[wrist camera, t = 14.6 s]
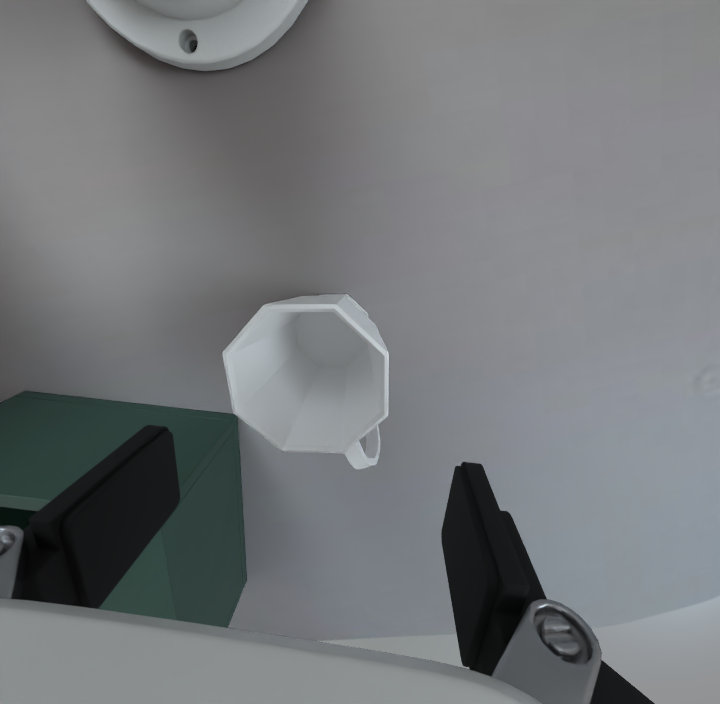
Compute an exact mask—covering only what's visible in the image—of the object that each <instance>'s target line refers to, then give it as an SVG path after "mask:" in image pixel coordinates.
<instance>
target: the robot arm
mask: <svg viewBox="0 0 720 704" xmlns="http://www.w3.org/2000/svg"><path fill="white" fill-rule="evenodd" d="M86 2H87V3H88V4H89V5H90V6H91V7H92V8H93V10H94V11H95V12H96V13H97V14H98V15H99V16H100V17H101V18H102V19H103V20H104V21H105V22H106V23H107V24H108V25H109V26H110V27H111V28H112V29H114V30H115V31H116V32H117V33H119V34H120V35H121V36H123V37H124V38H125V39H127V40H128V41H129V42H131V43H132V44H133V45H135V46H136V47H138V48H140V49H141V50H143V51H145V52H146V53H148V54H149V55H151V56H153V57H154V58H156V59H158V60H160V61H163V62H166V63H169V64H171V65H174V66H177V67H180V68H184V69H191V70H199V71H213V70H221V69H229V68H232V67H235V66H237V65H240V64H243V63H245V62H248V61H251V60H253V59H254V58H256V57H257V56H259V55H260V54H262V53H263V52H265V51H266V50H268V49H269V48H271V47H272V46H273V45H274V44H275V43H276V42H277V41H278V40H279V39H280V38H281V37H282V36H283V35H284V34H285V33H286V32H287V31H288V30H289V29H290V28H291V26H292V25H293V24H294V22H295V21H296V19H297V17H298V16H299V14H300V13H301V11H302V10H303V8H304V7H305V5H306V3H307V2H308V0H86ZM196 45H197V48H196V50H195V51H194V47H195V46H196ZM179 501H180V488H179V480H178V472H177V463H176V455H175V447H174V439H173V434H172V432H169V429H168V428H167V427H165V426H157V425H146V426H145V427H143V428H142V429H141V430H139V431H138V432H137V433H136V434H134V435H133V436H132V437H131V438H129V439H128V440H127V441H126V442H124V443H123V444H122V445H121V446H119V447H118V448H117V449H116V450H114V451H113V452H112V453H111V454H109V455H108V456H107V457H106V458H104V459H103V460H102V461H100V462H99V463H98V464H97V465H95V466H94V467H93V468H92V469H90V470H89V471H88V472H87V473H85V474H84V475H83V476H82V477H80V478H79V479H78V480H77V481H75V482H74V483H73V484H72V485H70V486H69V487H68V488H67V489H65V490H64V491H63V492H62V493H60V494H59V495H58V496H56V497H55V498H54V499H53V500H51V501H50V502H49V503H48V504H46V505H45V506H44V507H43V508H41V509H40V510H39V511H38V512H36V513H35V514H34V515H33V516H31V517H30V518H29V519H28V520H29V523H30V525H29V526H28V527H26V528H25V529H24V530H21V529H20V528H19V527H16V526H12V525H10V526H0V704H654V703H653V702H652V701H651V700H649V699H648V698H647V697H646V696H645V695H643V694H642V693H641V692H640V691H639V690H637V689H636V688H635V687H634V686H632V685H631V684H630V683H629V682H628V681H626V680H625V679H624V678H623V677H621V676H620V675H619V674H618V673H617V672H615V671H614V670H613V669H612V668H611V667H609V666H608V665H607V664H606V663H605V662H603V661H602V660H601V654H602V653H601V649H600V646H599V642H598V640H597V638H596V636H595V635H594V633H593V631H592V629H591V628H590V627H589V626H588V625H587V623H586V622H585V621H584V620H583V619H582V618H581V617H580V616H579V615H578V614H576V613H575V612H574V611H573V610H571V609H570V608H568V607H566V606H565V605H563V604H561V603H559V602H556V601H553V600H547V599H546V596H545V594H544V592H543V589H542V587H541V584H540V582H539V580H538V577H537V575H536V573H535V570H534V568H533V566H532V563H531V561H530V559H529V556H528V554H527V551H526V549H525V547H524V544H523V542H522V540H521V537H520V535H519V533H518V530H517V528H516V526H515V523H514V521H513V518H512V517H511V515H510V513H508V512H507V511H500V509H499V507H498V504H497V502H496V499H495V497H494V494H493V491H492V489H491V486H490V484H489V481H488V479H487V476H486V474H485V471H484V468H483V466H482V465H481V464H476V463H468V462H463V463H462V464H461V466H456V467H455V470H454V475H453V480H452V484H451V489H450V494H449V499H448V503H447V508H446V513H445V518H444V522H443V527H442V546H443V553H444V559H445V565H446V571H447V577H448V583H449V589H450V595H451V601H452V607H453V613H454V619H455V625H456V631H457V637H458V643H459V649H460V656H461V661H462V664H463V666H465V667H469V668H470V669H466V668H462V667H458V666H453V665H449V664H445V663H440V662H436V661H431V660H426V659H420V658H414V657H408V656H403V655H397V654H391V653H386V652H380V651H374V650H368V649H361V648H354V647H349V646H342V645H336V644H329V643H323V642H317V641H310V640H304V639H297V638H291V637H285V636H278V635H271V634H265V633H258V632H251V631H245V630H238V629H231V628H225V627H218V626H211V625H205V624H198V623H191V622H184V621H177V620H171V619H164V618H157V617H150V616H143V615H136V614H129V613H122V612H115V611H108V610H101V609H98V608H99V607H100V606H101V605H102V604H103V602H104V601H105V600H106V598H107V597H108V596H109V594H110V593H111V592H112V591H113V589H114V588H115V587H116V585H117V584H118V583H119V582H120V580H121V579H122V578H123V576H124V575H125V574H126V572H127V571H128V570H129V569H130V567H131V566H132V565H133V563H134V562H135V561H136V560H137V558H138V557H139V556H140V554H141V553H142V552H143V550H144V549H145V548H146V547H147V545H148V544H149V543H150V541H151V540H152V539H153V538H154V536H155V535H156V534H157V532H158V531H159V530H160V528H161V527H162V526H163V525H164V523H165V522H166V521H167V519H168V518H169V517H170V516H171V514H172V513H173V512H174V510H175V509H176V508H177V506H178V504H179Z"/></svg>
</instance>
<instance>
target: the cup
mask: <svg viewBox="0 0 720 704" xmlns="http://www.w3.org/2000/svg"><path fill="white" fill-rule="evenodd" d="M222 354H223V360H224V365H225V371H226V376H227V382H228V388H229V393H230V399H231V405H232V410H233V413H234V414H235V415H236V416H238V417H239V418H240V419H241V420H243V421H244V422H245V423H246V424H248V425H249V426H250V427H252V428H253V429H254V430H255V431H257V432H258V433H259V434H260V435H262V436H263V437H264V438H265V439H267V440H268V441H269V442H270V443H272V444H273V445H274V446H275V447H277V448H278V449H279V450H280V451H282V452H307V453H341V454H344V455H345V456H346V458H347V460H348V461H349V463H350V464H351V465H352V466H353V467H354V468H355V469H364V468H367V467H370V466H373V465H376V464H377V461H378V458H379V455H380V445H381V444H380V435H379V428H378V424H379V423H380V422H382V421H383V420H384V419H385V418H386V417H388V394H389V353H388V351H387V348H386V346H385V344H384V342H383V340H382V338H381V336H380V334H379V331H378V329H377V326H376V325H375V324H374V323H373V322H372V321H371V320H370V319H369V318H368V313H367V312H366V311H365V310H364V309H363V308H362V307H361V306H360V305H359V304H358V303H357V302H355V301H354V300H353V299H352V298H351V297H350V296H349V295H348V294H322V295H319V296H300V297H296V298H292V299H288V300H283V301H277V302H273V303H268V304H264V305H263V306H262V307H261V308H260V309H259V311H258V312H257V313H256V314H255V315H254V316H253V318H252V319H251V320H250V321H249V322H248V323H247V325H246V326H245V327H244V328H243V329H242V330H241V332H240V333H239V334H238V335H237V336H236V337H235V339H234V340H233V341H232V342H231V343H230V344H229V345H228V347H227V348H226V349H225V350H224V351H223V352H222ZM365 435H366V450H365V453H364V451H363V449H362V447H361V444H360V442H359V440H360V439H361V438H363V437H364V436H365Z"/></svg>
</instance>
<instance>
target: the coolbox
mask: <svg viewBox="0 0 720 704" xmlns="http://www.w3.org/2000/svg"><path fill="white" fill-rule="evenodd" d="M146 425H157V426H165V427H167V428H168V429H169V432H172V434H173V439H174V447H175V455H176V463H177V472H178V480H179V488H180V501H179V504H178V506H177V508H176V509H175V510H174V512H173V513H172V514H171V516H170V517H169V518H168V519H167V521H166V522H165V523H164V525H163V526H162V527H161V528H160V529H161V535H162V541H163V547H164V552H165V558H166V564H167V570H168V575H169V581H170V587H171V593H172V598H173V604H174V610H175V616H176V620H177V621H184V622H191V623H198V624H205V625H211V626H218V627H225V628H228V626H229V623H230V621H231V618H232V616H233V613H234V611H235V608H236V606H237V603H238V601H239V598H240V596H241V593H242V591H243V588H244V586H245V583H246V581H247V573H246V555H245V538H244V520H243V502H242V485H241V467H240V450H239V432H238V416H236V415H235V414H227V413H218V412H209V411H200V410H191V409H182V408H173V407H164V406H155V405H146V404H137V403H128V402H119V401H110V400H101V399H92V398H83V397H74V396H65V395H56V394H47V393H38V392H29V391H24V392H22V393H20V394H18V395H15V396H14V397H11V398H9V399H7V400H5V401H3V402H1V403H0V526H10V525H12V526H16V527H19V528H20V529H21V530H24V529H25V528H26V527H28V526H29V525H30V523H29V520H28V519H29V518H30V517H31V516H33V515H34V514H35V513H36V512H38V511H39V510H40V509H41V508H43V507H44V506H45V505H46V504H48V503H49V502H50V501H51V500H53V499H54V498H55V497H56V496H58V495H59V494H60V493H62V492H63V491H64V490H65V489H67V488H68V487H69V486H70V485H72V484H73V483H74V482H75V481H77V480H78V479H79V478H80V477H82V476H83V475H84V474H85V473H87V472H88V471H89V470H90V469H92V468H93V467H94V466H95V465H97V464H98V463H99V462H100V461H102V460H103V459H104V458H106V457H107V456H108V455H109V454H111V453H112V452H113V451H114V450H116V449H117V448H118V447H119V446H121V445H122V444H123V443H124V442H126V441H127V440H128V439H129V438H131V437H132V436H133V435H134V434H136V433H137V432H138V431H139V430H141V429H142V428H143V427H145V426H146Z"/></svg>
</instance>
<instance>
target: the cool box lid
mask: <svg viewBox="0 0 720 704" xmlns="http://www.w3.org/2000/svg"><path fill="white" fill-rule="evenodd" d="M98 609H101V610H108V611H115V612H122V613H129V614H136V615H143V616H150V617H157V618H164V619H171V620H176V616H175V610H174V604H173V598H172V593H171V587H170V581H169V575H168V570H167V564H166V558H165V552H164V547H163V541H162V535H161V529H160V530H159V531H158V532H157V534H156V535H155V536H154V538H153V539H152V540H151V541H150V543H149V544H148V545H147V547H146V548H145V549H144V550H143V552H142V553H141V554H140V556H139V557H138V558H137V560H136V561H135V562H134V563H133V565H132V566H131V567H130V569H129V570H128V571H127V572H126V574H125V575H124V576H123V578H122V579H121V580H120V582H119V583H118V584H117V585H116V587H115V588H114V589H113V591H112V592H111V593H110V594H109V596H108V597H107V598H106V600H105V601H104V602H103V604H102V605H101V606H100V607H99V608H98Z"/></svg>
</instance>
